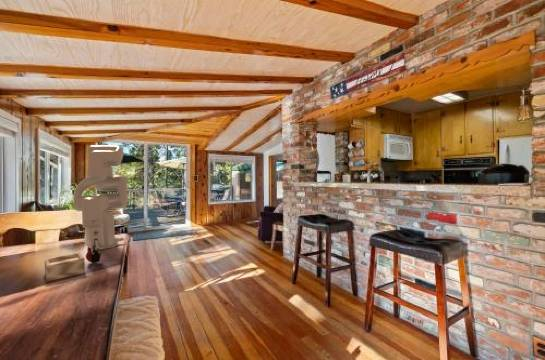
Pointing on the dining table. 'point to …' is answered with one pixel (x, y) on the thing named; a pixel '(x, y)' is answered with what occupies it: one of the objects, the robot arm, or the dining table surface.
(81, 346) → the dining table surface
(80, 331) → the dining table surface
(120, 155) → the robot arm
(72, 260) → the beige square hollow tray
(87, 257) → the onion
